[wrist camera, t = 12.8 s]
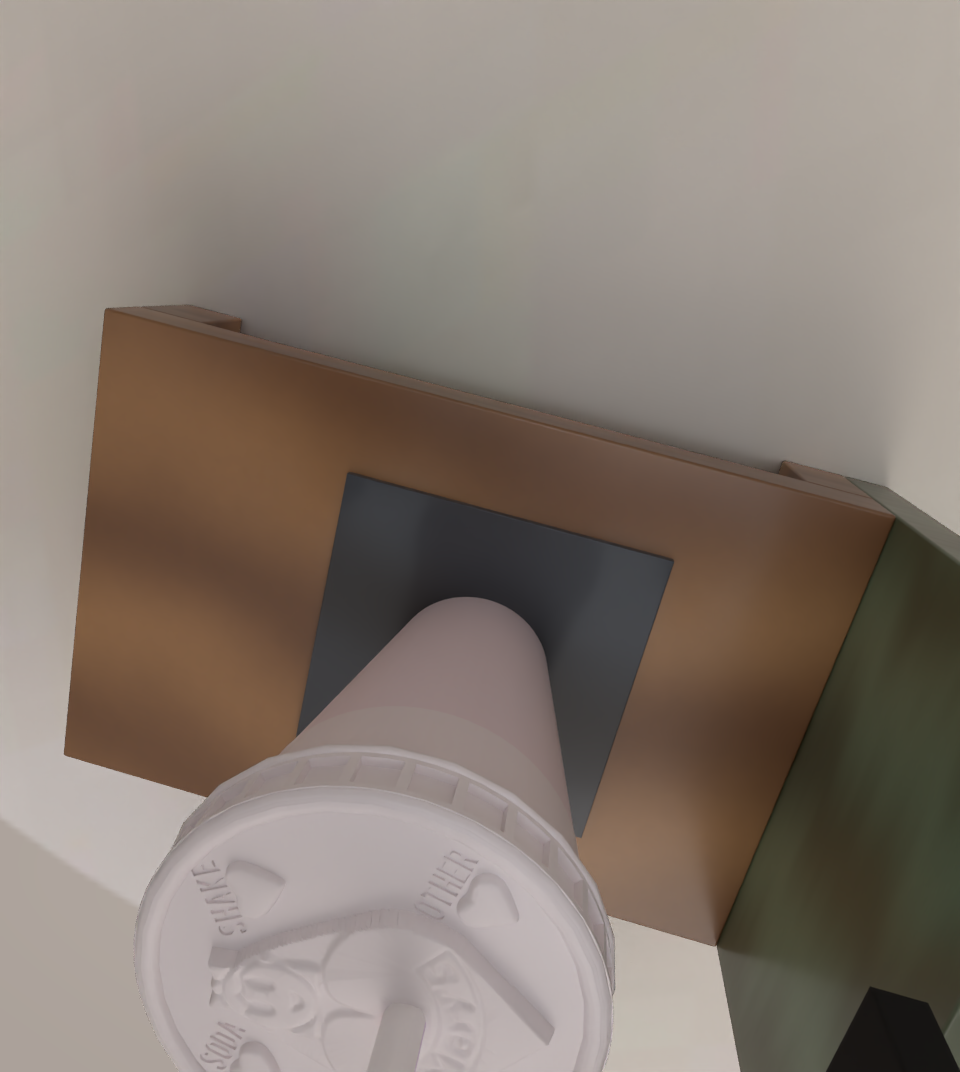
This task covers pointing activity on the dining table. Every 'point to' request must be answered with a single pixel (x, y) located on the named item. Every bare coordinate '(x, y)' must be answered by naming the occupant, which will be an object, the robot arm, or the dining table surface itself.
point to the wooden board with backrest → (550, 644)
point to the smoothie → (391, 881)
